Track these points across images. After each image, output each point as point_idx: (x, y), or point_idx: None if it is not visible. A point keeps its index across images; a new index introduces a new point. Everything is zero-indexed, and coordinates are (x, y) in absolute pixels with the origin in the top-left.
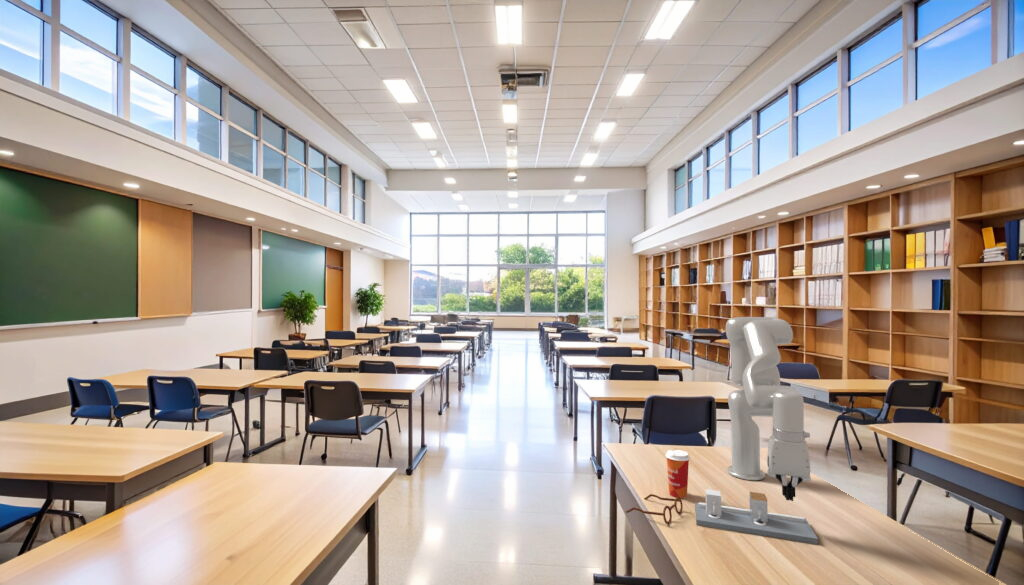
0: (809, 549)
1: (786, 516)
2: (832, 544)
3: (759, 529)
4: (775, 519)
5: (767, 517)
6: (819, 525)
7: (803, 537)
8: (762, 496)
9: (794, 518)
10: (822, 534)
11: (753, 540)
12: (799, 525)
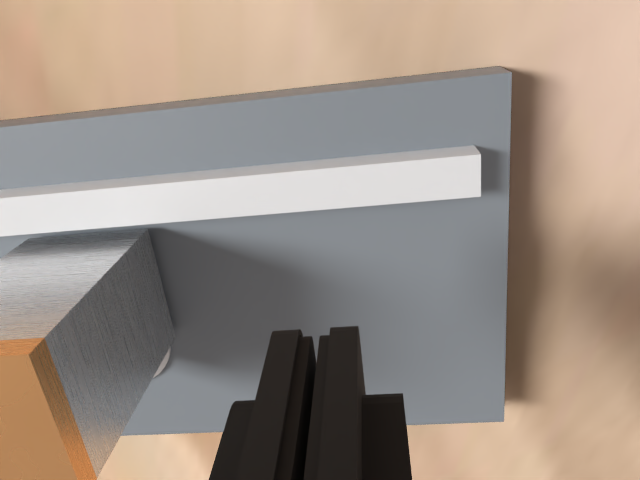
0: (424, 464)
1: (320, 209)
2: (598, 356)
3: (134, 434)
4: (232, 228)
5: (160, 361)
6: (622, 45)
7: (409, 421)
8: (22, 444)
9: (390, 199)
10: (581, 228)
11: (125, 475)
12: (416, 261)
